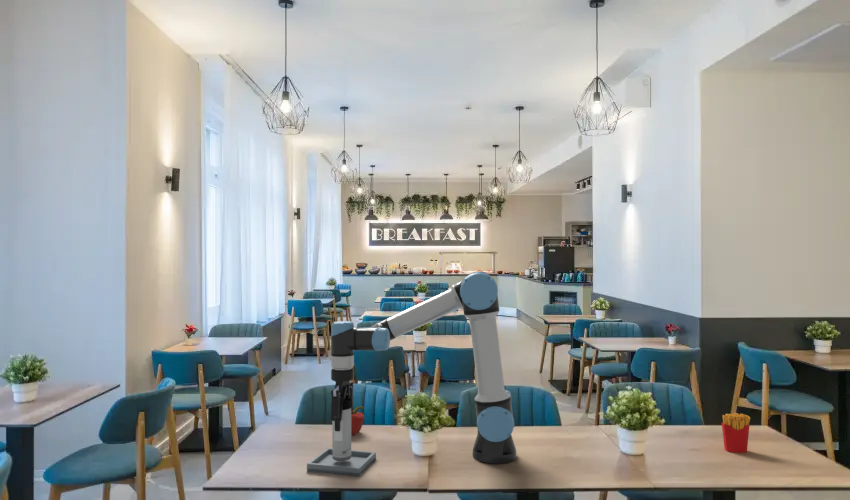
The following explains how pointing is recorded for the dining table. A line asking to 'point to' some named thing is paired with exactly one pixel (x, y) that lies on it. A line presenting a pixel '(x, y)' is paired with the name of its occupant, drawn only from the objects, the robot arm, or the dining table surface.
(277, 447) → the dining table surface
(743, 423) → the french fries
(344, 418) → the travel mug
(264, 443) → the dining table surface
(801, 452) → the dining table surface
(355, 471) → the tray
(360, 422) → the vegetable
